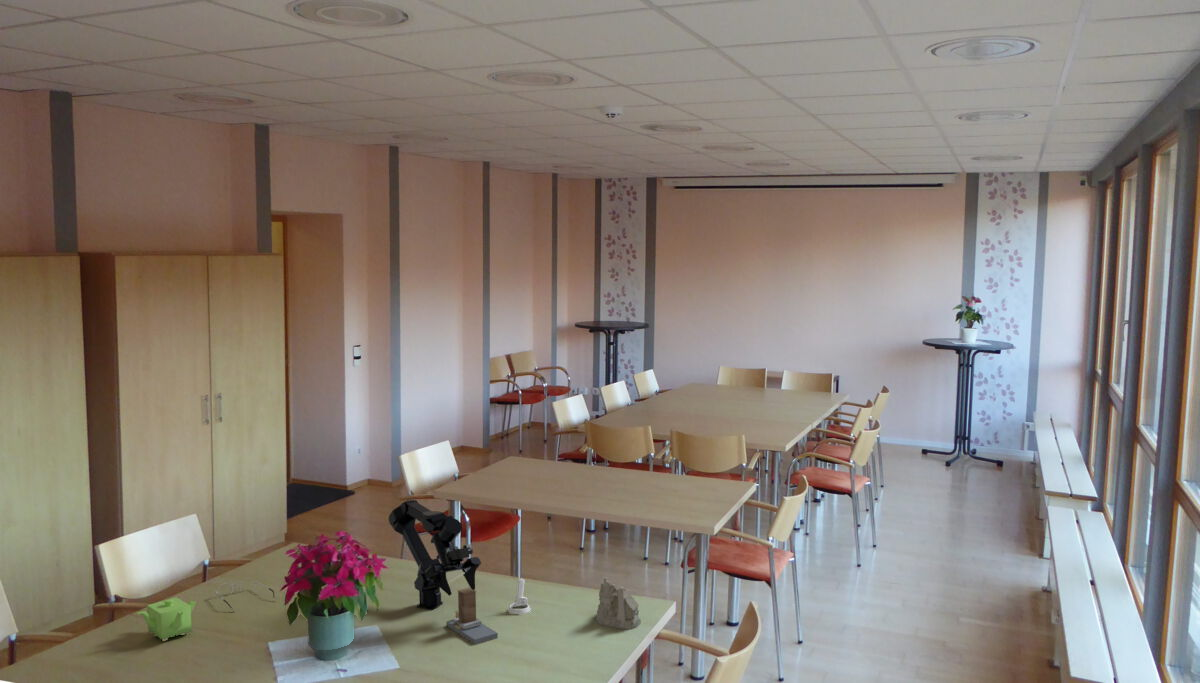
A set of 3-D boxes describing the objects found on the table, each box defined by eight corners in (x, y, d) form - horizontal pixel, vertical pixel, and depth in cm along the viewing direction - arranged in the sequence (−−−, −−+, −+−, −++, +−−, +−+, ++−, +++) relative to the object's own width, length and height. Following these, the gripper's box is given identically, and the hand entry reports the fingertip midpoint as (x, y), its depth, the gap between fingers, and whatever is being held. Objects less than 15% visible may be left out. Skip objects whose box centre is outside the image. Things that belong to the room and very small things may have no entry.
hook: (531, 585, 313) (535, 580, 307) (527, 621, 307) (532, 616, 301) (509, 582, 311) (513, 577, 305) (505, 618, 305) (509, 613, 299)
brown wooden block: (453, 622, 290) (452, 589, 289) (470, 617, 294) (469, 585, 293) (464, 629, 285) (463, 596, 284) (481, 624, 288) (480, 591, 287)
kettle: (184, 644, 280) (182, 608, 279) (136, 646, 279) (134, 610, 278) (202, 624, 295) (200, 590, 294) (156, 626, 294) (154, 592, 293)
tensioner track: (446, 625, 292) (445, 613, 292) (468, 619, 297) (467, 607, 297) (474, 644, 278) (474, 631, 277) (497, 637, 283) (497, 625, 282)
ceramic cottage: (628, 632, 286) (628, 584, 286) (586, 622, 295) (586, 575, 295) (655, 619, 298) (655, 573, 298) (614, 610, 308) (613, 565, 308)
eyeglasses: (257, 588, 328) (257, 574, 328) (278, 602, 314) (277, 588, 314) (211, 599, 318) (211, 585, 317) (231, 614, 304) (230, 600, 303)
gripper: (433, 540, 287) (450, 585, 280) (480, 532, 300) (498, 576, 293) (416, 557, 293) (433, 602, 286) (464, 549, 306) (480, 592, 299)
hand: (462, 592), depth 291 cm, fingers open, 9 cm apart
